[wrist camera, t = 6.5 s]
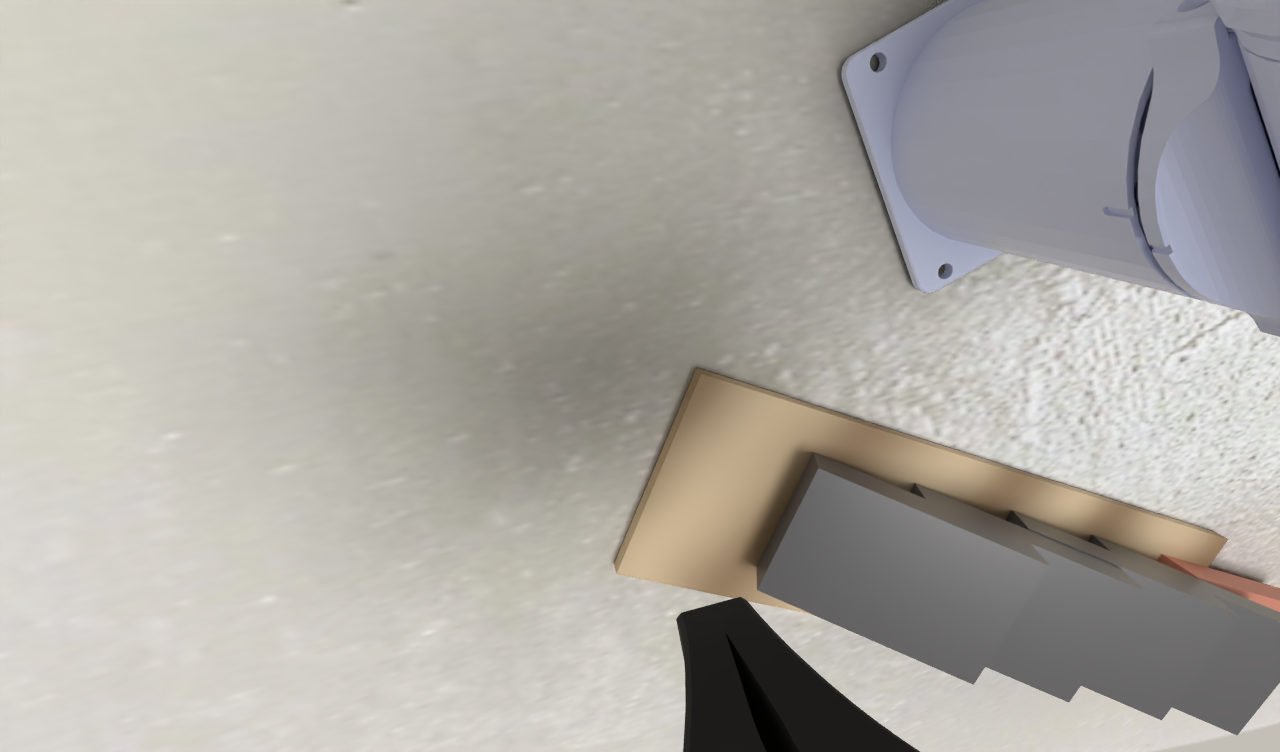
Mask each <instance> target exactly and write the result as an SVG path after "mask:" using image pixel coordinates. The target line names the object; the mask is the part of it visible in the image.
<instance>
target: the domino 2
mask: <svg viewBox="0 0 1280 752" xmlns="http://www.w3.org/2000/svg"><path fill="white" fill-rule="evenodd" d="M910 493H913V494H915V495H917V496H920V497H922V498H925V499H927V500H929V501H932V502H934V503H936V504H939V505H941V506H944V507H946V508H948V509H951V510H953V511H955V512H958V513H960V514H963V515H965V516H967V517H970V518H972V519H975V520H977V521H979V522H982V523H984V524H986V525H989V526H991V527H994V528H996V529H998V530H1001V531H1003V532H1005V533H1008V534H1010V535H1013V536H1015V537H1017V538H1020V539H1022V540H1025V541H1027V542H1029V543H1030V544H1031V545H1032V546H1033V547H1034V548H1035V549H1036V550H1037V552H1038V553H1039V554H1040V555H1041V556H1042V557H1043V558H1044V559H1045V561H1046V562H1047V563H1048V564H1049V565H1050V567H1049V569H1048V570H1047V572H1046V573H1045V575H1044V577H1043V578H1042V580H1041V581H1040V583H1039V584H1038V586H1037V587H1036V589H1035V590H1034V592H1033V594H1032V595H1031V597H1030V598H1029V600H1028V601H1027V603H1026V604H1025V606H1024V607H1023V609H1022V611H1021V612H1020V614H1019V615H1018V617H1017V618H1016V620H1015V621H1014V623H1013V624H1012V626H1011V628H1010V629H1009V631H1008V632H1007V634H1006V635H1005V637H1004V638H1003V640H1002V641H1001V643H1000V645H999V646H998V648H997V649H996V651H995V652H994V654H993V655H992V657H991V659H990V660H989V662H988V663H987V665H986V666H985V667H987V668H990V669H992V670H995V671H997V672H999V673H1002V674H1004V675H1006V676H1009V677H1011V678H1013V679H1016V680H1018V681H1020V682H1023V683H1025V684H1027V685H1030V686H1032V687H1034V688H1037V689H1039V690H1041V691H1044V692H1046V693H1048V694H1051V695H1053V696H1055V697H1058V698H1060V699H1062V700H1065V701H1067V702H1069V701H1070V700H1071V699H1072V697H1073V696H1074V694H1075V693H1076V691H1077V690H1078V689H1079V687H1080V686H1081V684H1082V683H1083V681H1084V680H1085V679H1086V677H1087V676H1088V674H1089V673H1090V671H1091V670H1092V669H1093V667H1094V666H1095V664H1096V663H1097V662H1098V660H1099V659H1100V657H1101V656H1102V654H1103V653H1104V652H1105V650H1106V649H1107V647H1108V646H1109V644H1110V643H1111V642H1112V640H1113V639H1114V637H1115V636H1116V634H1117V633H1118V632H1119V630H1120V629H1121V627H1122V626H1123V624H1124V623H1125V622H1126V620H1127V619H1128V617H1129V616H1130V614H1131V613H1132V612H1133V610H1134V609H1135V607H1136V606H1137V604H1138V603H1139V602H1140V600H1141V599H1142V597H1143V596H1144V595H1145V593H1146V591H1145V590H1144V589H1143V588H1142V587H1141V586H1139V585H1138V584H1137V583H1136V582H1135V581H1134V580H1133V579H1132V578H1131V577H1130V576H1128V575H1127V574H1126V573H1125V572H1124V571H1123V570H1122V569H1121V568H1119V567H1117V566H1114V565H1112V564H1109V563H1107V562H1105V561H1102V560H1100V559H1097V558H1095V557H1093V556H1090V555H1088V554H1085V553H1083V552H1080V551H1078V550H1076V549H1073V548H1071V547H1068V546H1066V545H1064V544H1061V543H1059V542H1056V541H1054V540H1052V539H1049V538H1047V537H1044V536H1042V535H1040V534H1037V533H1035V532H1032V531H1030V530H1027V529H1025V528H1023V527H1020V526H1018V525H1015V524H1013V523H1011V522H1008V521H1006V520H1003V519H1001V518H999V517H996V516H994V515H991V514H989V513H987V512H984V511H982V510H979V509H977V508H974V507H972V506H970V505H967V504H965V503H962V502H960V501H958V500H955V499H953V498H950V497H948V496H946V495H943V494H941V493H938V492H936V491H934V490H931V489H929V488H926V487H924V486H921V485H919V484H917V483H914V485H913V487H912V489H911V491H910Z"/></svg>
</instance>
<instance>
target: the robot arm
mask: <svg viewBox="0 0 1280 752" xmlns="http://www.w3.org/2000/svg"><path fill="white" fill-rule="evenodd" d="M874 54H875V55H877V56H878V58H879V62H880V65H879V68H878V70H877V71H876V72H874V71H872V69H871V68H870V60H871V57H872V56H873V55H874ZM841 75H842V81H843V84H844V87H845V90H846V93H847V96H848V98H849V101H850V104H851V107H852V110H853V113H854V116H855V119H856V121H857V124H858V127H859V130H860V133H861V136H862V139H863V142H864V145H865V147H866V150H867V153H868V156H869V159H870V162H871V165H872V168H873V171H874V173H875V176H876V179H877V182H878V185H879V188H880V191H881V194H882V196H883V199H884V202H885V205H886V208H887V211H888V214H889V217H890V220H891V222H892V225H893V228H894V231H895V234H896V237H897V240H898V243H899V246H900V248H901V251H902V254H903V257H904V260H905V263H906V266H907V269H908V271H909V274H910V277H911V280H912V283H913V285H914V287H915V288H916V289H917V290H919V291H921V292H924V293H932V292H935V291H937V290H939V289H941V288H942V287H944V286H946V285H948V284H949V283H951V282H953V281H955V280H956V279H958V278H960V277H962V276H964V275H965V274H967V273H969V272H971V271H972V270H974V269H976V268H978V267H980V266H981V265H983V264H985V263H987V262H988V261H990V260H992V259H994V258H995V257H997V256H999V255H1001V254H1003V253H1004V252H1005V253H1009V254H1013V255H1017V256H1022V257H1026V258H1030V259H1034V260H1038V261H1042V262H1046V263H1050V264H1054V265H1059V266H1063V267H1067V268H1071V269H1075V270H1079V271H1083V272H1087V273H1091V274H1096V275H1100V276H1104V277H1108V278H1112V279H1116V280H1120V281H1124V282H1128V283H1133V284H1137V285H1141V286H1145V287H1149V288H1153V289H1157V290H1161V291H1165V292H1170V293H1174V294H1178V295H1182V296H1186V297H1190V298H1194V299H1199V300H1204V301H1207V302H1209V303H1213V304H1217V305H1221V306H1225V307H1229V308H1233V309H1237V310H1241V311H1244V312H1246V313H1247V314H1249V315H1250V316H1251V317H1252V318H1253V319H1254V321H1255V322H1256V324H1257V326H1258V328H1259V330H1260V331H1261V332H1264V333H1268V334H1272V335H1276V336H1279V337H1280V0H947V1H945V2H944V3H942V4H940V5H938V6H937V7H935V8H933V9H931V10H930V11H928V12H926V13H924V14H923V15H921V16H919V17H918V18H916V19H914V20H912V21H911V22H909V23H907V24H905V25H904V26H902V27H900V28H898V29H897V30H895V31H893V32H891V33H890V34H888V35H886V36H884V37H883V38H881V39H879V40H877V41H876V42H874V43H872V44H870V45H869V46H867V47H865V48H863V49H862V50H860V51H858V52H856V53H855V54H853V55H851V56H850V57H849V58H848V59H847V60H846V61H845V63H844V65H843V67H842V72H841ZM943 264H945V271H944V273H943V274H942V275H941V276H938V270H939V268H940V267H941V266H942V265H943ZM676 620H677V625H678V630H679V635H680V641H681V646H682V651H683V656H684V661H685V686H686V713H685V731H684V749H683V752H920V751H918V750H917V749H915V748H914V747H912V746H911V745H909V744H908V743H906V742H905V741H903V740H902V739H900V738H899V737H898V736H896V735H895V734H893V733H892V732H891V731H889V730H888V729H886V728H885V727H884V726H882V725H881V724H879V723H878V722H877V721H875V720H874V719H873V718H871V717H870V716H869V715H868V714H866V713H865V712H864V711H862V710H861V709H860V708H859V707H857V706H856V705H855V704H853V703H852V702H851V701H850V700H849V699H847V698H846V697H845V696H844V695H843V694H841V693H840V692H839V691H838V690H837V689H835V688H834V687H833V686H832V685H831V684H829V683H828V682H827V681H826V680H825V679H824V678H823V677H821V676H820V675H819V674H818V673H817V672H816V671H815V670H814V669H813V668H812V667H811V666H809V665H808V664H807V663H806V662H805V661H804V660H803V659H802V658H801V657H800V656H799V655H798V654H796V653H795V652H794V651H793V650H792V649H791V648H790V647H789V646H788V645H787V644H786V643H785V642H784V641H783V640H782V639H781V638H780V637H779V636H778V635H777V634H776V633H775V632H774V631H773V630H772V628H771V627H770V626H769V625H768V624H767V623H766V622H765V621H764V620H763V619H762V618H761V617H760V615H759V614H758V613H757V612H756V611H755V610H754V609H753V607H752V606H751V605H750V604H749V603H748V601H747V600H746V599H744V598H742V597H738V598H734V599H730V600H727V601H723V602H719V603H716V604H712V605H708V606H705V607H701V608H697V609H694V610H690V611H686V612H683V613H681V614H680V615H679V616H678V618H677V619H676Z"/></svg>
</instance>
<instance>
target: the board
mask: <svg viewBox="0 0 1280 752" xmlns="http://www.w3.org/2000/svg"><path fill="white" fill-rule="evenodd" d="M813 452H815V453H817V454H820V455H822V456H825V457H827V458H829V459H832V460H834V461H836V462H839V463H841V464H844V465H846V466H848V467H851V468H853V469H856V470H858V471H860V472H863V473H865V474H867V475H870V476H872V477H875V478H877V479H879V480H882V481H884V482H886V483H889V484H891V485H894V486H896V487H898V488H901V489H903V490H906V491H908V492H910V491H911V489H912V487H913V485H914V483H917V484H919V485H921V486H924V487H926V488H929V489H931V490H934V491H936V492H938V493H941V494H943V495H946V496H948V497H950V498H953V499H955V500H958V501H960V502H962V503H965V504H967V505H970V506H972V507H974V508H977V509H979V510H982V511H984V512H987V513H989V514H991V515H994V516H996V517H999V518H1001V519H1003V520H1006V519H1007V517H1008V515H1009V514H1010V512H1011V511H1012V510H1013V511H1015V512H1018V513H1020V514H1023V515H1025V516H1028V517H1030V518H1032V519H1035V520H1037V521H1040V522H1042V523H1044V524H1047V525H1049V526H1052V527H1054V528H1056V529H1059V530H1061V531H1064V532H1066V533H1068V534H1071V535H1073V536H1076V537H1078V538H1080V539H1083V540H1085V541H1088V540H1089V539H1090V537H1091V536H1092V535H1095V536H1097V537H1100V538H1102V539H1104V540H1107V541H1109V542H1112V543H1114V544H1116V545H1119V546H1121V547H1124V548H1126V549H1128V550H1131V551H1133V552H1136V553H1138V554H1141V555H1143V556H1145V557H1148V558H1150V559H1153V560H1155V561H1157V560H1158V558H1159V557H1160V556H1161V554H1164V555H1167V556H1171V557H1174V558H1177V559H1181V560H1184V561H1188V562H1191V563H1195V564H1198V565H1201V566H1205V567H1209V565H1210V564H1211V563H1212V561H1213V560H1214V558H1215V557H1216V556H1217V554H1218V553H1219V552H1220V550H1221V549H1222V547H1223V546H1224V545H1225V543H1226V542H1227V540H1228V539H1227V538H1225V537H1223V536H1221V535H1220V534H1218V533H1216V532H1214V531H1211V530H1208V529H1205V528H1201V527H1198V526H1195V525H1192V524H1189V523H1186V522H1183V521H1179V520H1176V519H1173V518H1170V517H1167V516H1164V515H1160V514H1157V513H1154V512H1151V511H1148V510H1145V509H1141V508H1138V507H1135V506H1132V505H1129V504H1126V503H1122V502H1119V501H1116V500H1113V499H1110V498H1107V497H1103V496H1100V495H1097V494H1094V493H1091V492H1088V491H1085V490H1081V489H1078V488H1075V487H1072V486H1069V485H1066V484H1062V483H1059V482H1056V481H1053V480H1050V479H1047V478H1043V477H1040V476H1037V475H1034V474H1031V473H1028V472H1024V471H1021V470H1018V469H1015V468H1012V467H1009V466H1006V465H1002V464H999V463H996V462H993V461H990V460H987V459H983V458H980V457H977V456H974V455H971V454H968V453H964V452H961V451H958V450H955V449H952V448H949V447H945V446H942V445H939V444H936V443H933V442H930V441H927V440H923V439H920V438H917V437H914V436H911V435H908V434H904V433H901V432H898V431H895V430H892V429H889V428H885V427H882V426H879V425H876V424H873V423H870V422H866V421H863V420H860V419H857V418H854V417H851V416H848V415H844V414H841V413H838V412H835V411H832V410H829V409H825V408H822V407H819V406H816V405H813V404H810V403H806V402H803V401H800V400H797V399H794V398H791V397H787V396H784V395H781V394H778V393H775V392H772V391H769V390H765V389H762V388H759V387H756V386H753V385H750V384H746V383H743V382H740V381H737V380H734V379H731V378H727V377H724V376H721V375H718V374H715V373H712V372H708V371H705V370H702V369H699V368H696V370H695V372H694V375H693V377H692V380H691V382H690V384H689V387H688V389H687V392H686V394H685V396H684V399H683V401H682V403H681V406H680V408H679V411H678V413H677V415H676V418H675V420H674V422H673V425H672V427H671V430H670V432H669V434H668V437H667V439H666V441H665V444H664V446H663V449H662V451H661V453H660V456H659V458H658V461H657V463H656V465H655V468H654V470H653V472H652V475H651V477H650V480H649V482H648V484H647V487H646V489H645V491H644V494H643V496H642V499H641V501H640V503H639V506H638V508H637V510H636V513H635V515H634V518H633V520H632V522H631V525H630V527H629V529H628V532H627V534H626V537H625V539H624V541H623V544H622V546H621V549H620V551H619V553H618V556H617V558H616V560H615V563H614V565H615V569H616V573H617V574H620V575H625V576H630V577H635V578H639V579H644V580H649V581H654V582H659V583H664V584H668V585H673V586H678V587H683V588H688V589H692V590H697V591H702V592H707V593H712V594H717V595H721V596H726V597H731V598H738V597H742V598H744V599H746V600H747V601H750V602H755V603H760V604H765V605H770V606H774V607H779V608H784V609H789V610H794V611H799V612H803V613H808V612H806V611H804V610H801V609H799V608H797V607H794V606H792V605H790V604H788V603H785V602H783V601H781V600H778V599H776V598H774V597H772V596H769V595H767V594H765V593H762V592H760V591H758V590H757V575H756V566H757V564H758V562H759V560H760V558H761V556H762V554H763V552H764V550H765V548H766V546H767V544H768V542H769V540H770V538H771V536H772V534H773V532H774V530H775V528H776V526H777V524H778V522H779V520H780V518H781V516H782V514H783V512H784V510H785V508H786V506H787V504H788V502H789V500H790V498H791V496H792V494H793V492H794V490H795V488H796V486H797V484H798V482H799V480H800V478H801V476H802V474H803V472H804V470H805V468H806V466H807V464H808V462H809V460H810V458H811V456H812V454H813ZM808 614H810V613H808Z"/></svg>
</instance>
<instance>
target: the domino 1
mask: <svg viewBox="0 0 1280 752" xmlns="http://www.w3.org/2000/svg"><path fill="white" fill-rule="evenodd" d="M1049 567H1050V565H1049V564H1048V563H1047V562H1046V561H1045V559H1044V558H1043V557H1042V556H1041V555H1040V554H1039V553H1038V552H1037V550H1036V549H1035V548H1034V547H1033V546H1032V545H1031V544H1030V543H1029V542H1027V541H1025V540H1022V539H1020V538H1017V537H1015V536H1013V535H1010V534H1008V533H1005V532H1003V531H1001V530H998V529H996V528H994V527H991V526H989V525H986V524H984V523H982V522H979V521H977V520H975V519H972V518H970V517H967V516H965V515H963V514H960V513H958V512H955V511H953V510H951V509H948V508H946V507H944V506H941V505H939V504H936V503H934V502H932V501H929V500H927V499H925V498H922V497H920V496H917V495H915V494H913V493H910V492H908V491H906V490H903V489H901V488H898V487H896V486H894V485H891V484H889V483H886V482H884V481H882V480H879V479H877V478H875V477H872V476H870V475H867V474H865V473H863V472H860V471H858V470H856V469H853V468H851V467H848V466H846V465H844V464H841V463H839V462H836V461H834V460H832V459H829V458H827V457H825V456H822V455H820V454H817V453H815V452H813V454H812V456H811V458H810V460H809V462H808V464H807V466H806V468H805V470H804V472H803V474H802V476H801V478H800V480H799V482H798V484H797V486H796V488H795V490H794V492H793V494H792V496H791V498H790V500H789V502H788V504H787V506H786V508H785V510H784V512H783V514H782V516H781V518H780V520H779V522H778V524H777V526H776V528H775V530H774V532H773V534H772V536H771V538H770V540H769V542H768V544H767V546H766V548H765V550H764V552H763V554H762V556H761V558H760V560H759V562H758V564H757V566H756V575H757V590H758V591H760V592H762V593H765V594H767V595H769V596H772V597H774V598H776V599H778V600H781V601H783V602H785V603H788V604H790V605H792V606H794V607H797V608H799V609H801V610H804V611H806V612H808V613H810V614H813V615H815V616H817V617H820V618H822V619H824V620H827V621H829V622H831V623H833V624H836V625H838V626H840V627H843V628H845V629H847V630H849V631H852V632H854V633H856V634H859V635H861V636H863V637H866V638H868V639H870V640H872V641H875V642H877V643H879V644H882V645H884V646H886V647H888V648H891V649H893V650H895V651H898V652H900V653H902V654H905V655H907V656H909V657H911V658H914V659H916V660H918V661H921V662H923V663H925V664H927V665H930V666H932V667H934V668H937V669H939V670H941V671H944V672H946V673H948V674H950V675H953V676H955V677H957V678H960V679H962V680H964V681H966V682H969V683H971V684H973V685H974V683H975V682H976V680H977V679H978V677H979V676H980V674H981V672H982V671H983V669H984V668H985V666H986V665H987V663H988V662H989V660H990V659H991V657H992V655H993V654H994V652H995V651H996V649H997V648H998V646H999V645H1000V643H1001V641H1002V640H1003V638H1004V637H1005V635H1006V634H1007V632H1008V631H1009V629H1010V628H1011V626H1012V624H1013V623H1014V621H1015V620H1016V618H1017V617H1018V615H1019V614H1020V612H1021V611H1022V609H1023V607H1024V606H1025V604H1026V603H1027V601H1028V600H1029V598H1030V597H1031V595H1032V594H1033V592H1034V590H1035V589H1036V587H1037V586H1038V584H1039V583H1040V581H1041V580H1042V578H1043V577H1044V575H1045V573H1046V572H1047V570H1048V569H1049Z"/></svg>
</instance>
